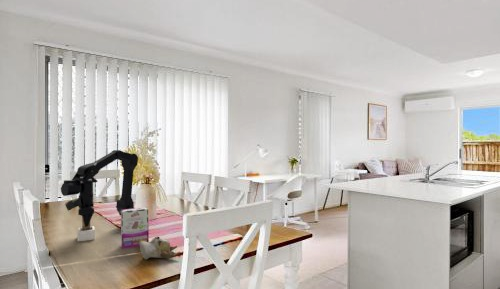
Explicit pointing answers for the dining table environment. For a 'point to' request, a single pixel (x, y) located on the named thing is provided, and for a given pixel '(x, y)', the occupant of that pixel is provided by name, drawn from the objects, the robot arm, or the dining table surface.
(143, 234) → the candy bar box
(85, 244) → the dining table surface
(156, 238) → the ceramic sculpture
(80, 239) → the white square frame
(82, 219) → the dowel
